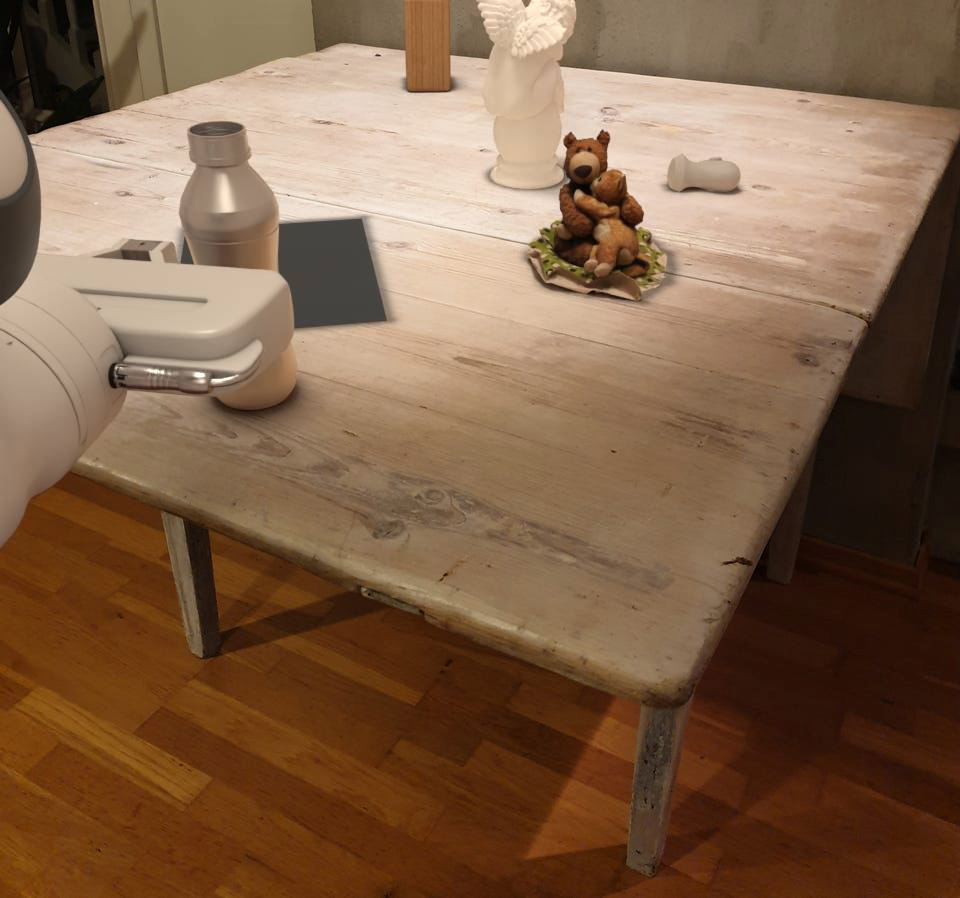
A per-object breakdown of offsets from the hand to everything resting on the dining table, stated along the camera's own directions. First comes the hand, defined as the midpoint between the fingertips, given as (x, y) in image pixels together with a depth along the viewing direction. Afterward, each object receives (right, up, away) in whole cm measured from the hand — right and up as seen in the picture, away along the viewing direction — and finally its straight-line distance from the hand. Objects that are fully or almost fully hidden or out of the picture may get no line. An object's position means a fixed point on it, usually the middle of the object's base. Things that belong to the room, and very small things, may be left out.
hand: (152, 252), depth 55 cm
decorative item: (+11, +44, +93) cm, 104 cm away
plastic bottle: (+2, -8, +18) cm, 20 cm away
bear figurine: (+30, +6, +38) cm, 48 cm away
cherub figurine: (+24, +19, +57) cm, 65 cm away
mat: (0, +5, +36) cm, 36 cm away
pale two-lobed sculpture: (+44, +18, +56) cm, 73 cm away
